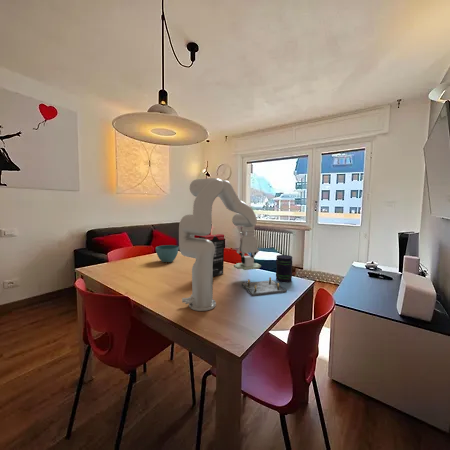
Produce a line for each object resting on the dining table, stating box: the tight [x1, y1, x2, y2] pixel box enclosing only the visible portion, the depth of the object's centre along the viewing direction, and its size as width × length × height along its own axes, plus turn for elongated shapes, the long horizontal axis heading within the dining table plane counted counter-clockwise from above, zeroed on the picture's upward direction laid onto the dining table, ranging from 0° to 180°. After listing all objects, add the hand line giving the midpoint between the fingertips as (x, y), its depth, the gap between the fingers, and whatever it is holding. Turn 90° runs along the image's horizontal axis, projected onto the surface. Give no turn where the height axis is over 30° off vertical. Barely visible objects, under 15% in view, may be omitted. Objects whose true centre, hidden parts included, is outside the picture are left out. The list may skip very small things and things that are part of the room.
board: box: [233, 255, 262, 271], centre depth 142 cm, size 16×12×6 cm
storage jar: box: [275, 254, 293, 283], centre depth 143 cm, size 10×10×15 cm
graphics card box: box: [198, 233, 225, 277], centre depth 150 cm, size 17×7×27 cm, turn 135°
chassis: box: [241, 276, 287, 297], centre depth 129 cm, size 20×16×4 cm
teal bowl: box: [155, 244, 180, 263], centre depth 186 cm, size 18×18×12 cm
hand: (247, 262), depth 142 cm, fingers closed on board, 5 cm apart
